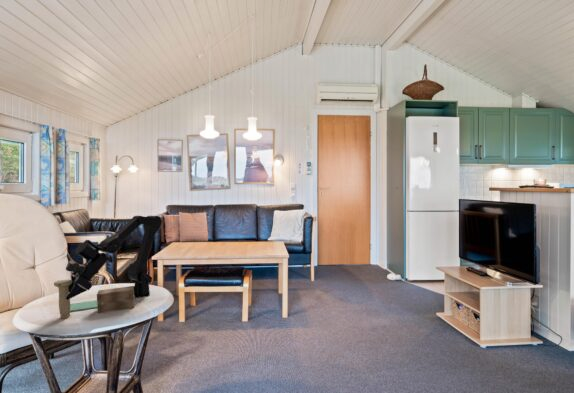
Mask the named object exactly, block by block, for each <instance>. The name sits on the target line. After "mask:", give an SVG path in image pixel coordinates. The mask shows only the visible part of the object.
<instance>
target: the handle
mask: <svg viewBox="0 0 574 393" xmlns="http://www.w3.org/2000/svg"><path fill="white" fill-rule="evenodd" d="M71 284H72V280H71V279H60V280H57V281H54V282H53V285H54V286H55V288H58V308H59V309H58V310H59V315H60V319H67V318H69V317H70V316H71V312H70V304H71V299H69V300H67V299H66V297H67V295H68V294H69V293H70V292H69V290H68V286H69V285H71Z"/></svg>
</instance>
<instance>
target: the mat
mask: <svg viewBox="0 0 574 393" xmlns="http://www.w3.org/2000/svg"><path fill="white" fill-rule="evenodd" d="M92 309H98V307H97V299H96V300H90V301H80V302H74V303H70V313H72V312H73V313H74V312H80V311H87V310H92Z"/></svg>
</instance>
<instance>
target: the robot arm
mask: <svg viewBox="0 0 574 393" xmlns="http://www.w3.org/2000/svg"><path fill="white" fill-rule="evenodd" d="M162 224H163V220H162V217H160V216H159V215H146V216H142V215H133V216H132V217H131V219H130V220H129V221H128V222H126V224H124V226H122V227H121V228H120V229H119V230H118V231H116V233H114V234H113V235H110V236H108V237H106V238H104V239H103V240H102V241H100V243H97V244H95V243H93V242H92V241H91V240H89V239H85V240H84V241H83V242H81V243H80V244H79V245H77V247H76V248H75V254H77V255H78V256H80V257H81V258H83V259H84V260H86V261H87V262H84V263H83V264H80V263H78V262H73V261H68V262H67V264H66V267H65V270H66V271H67V272H71V274H70V280H72V284H71V285H69V286H68V290H69V294H68V295H67V297H66V299H67V300H69V299H70V300H71V299H72V298H75V297H77V296H78V295H81V294H83V293H85V292H87V291H89V290H90V289H91V288H92V287H93V283H92V279H93V278H94V276H96V275H98V274H99V273H100V270H101V269H102V268H103V267H104V266H105V265H106V264H107V262H109V263H111V264H113V263H114V261H113V258H114V256H112V255H108V254H115V253H117V252H118V250H119V249H120V248H121V247H122V245H123V242H124V241H125V240H126V239H127V238H128V237H129V236H130V235H131V234H132V233H133V232H134V231H135V230H136V229H138V228H139V227H140V226H141V225H142V227H143V231H144V233H143V236H142V239H141V243H140V246H139V250H138V251H137V252H138V254H137V257H136V259H135V261H134V263H130V264H129V266H128V270H127V277H128V279H129V280H130V282H131V283H134V285H133V286H134V299H135V298H142V297H149V296H151V295H150V294H151V292H150V283H152V281H153V276H150V275H149V273H148V271H149V268H148V260H149V256H150V253H151V252H150V251H151V249H152V245H153V242H154V238H155V234H157V232H159V230H160V228H161V227H162ZM100 252H101V253H100Z"/></svg>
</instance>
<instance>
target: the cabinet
mask: <svg viewBox="0 0 574 393" xmlns="http://www.w3.org/2000/svg"><path fill="white" fill-rule="evenodd" d="M134 286H135V285H129V286H123V287H115V288H108V289H106V288H105V289H99V290H97V293H96V300H97V307H98V308H97V313H98V314H100V313H101V314H102V313H107V312H114V311H122V310H127V309H133V308H135V296H134Z"/></svg>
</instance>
